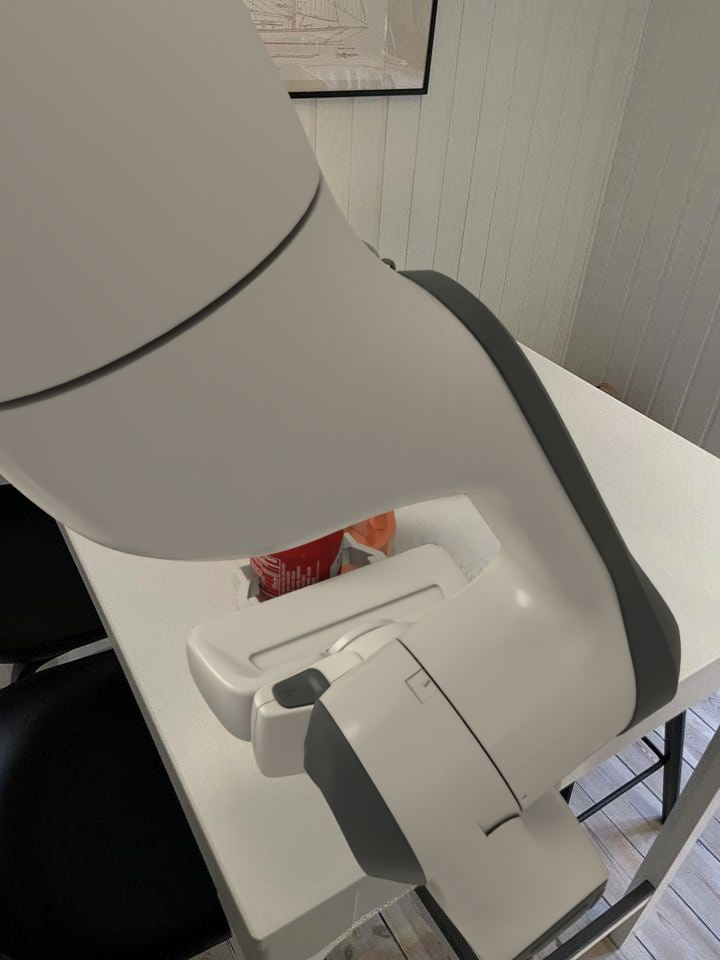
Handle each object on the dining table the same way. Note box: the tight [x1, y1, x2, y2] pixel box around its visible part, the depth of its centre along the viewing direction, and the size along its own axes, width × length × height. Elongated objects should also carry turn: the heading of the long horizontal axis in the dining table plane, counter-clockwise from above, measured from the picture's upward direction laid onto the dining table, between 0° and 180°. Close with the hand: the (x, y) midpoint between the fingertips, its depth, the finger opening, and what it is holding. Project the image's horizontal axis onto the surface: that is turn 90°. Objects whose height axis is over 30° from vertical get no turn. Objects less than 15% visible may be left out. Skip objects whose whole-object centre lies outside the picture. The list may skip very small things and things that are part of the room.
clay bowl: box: [341, 510, 397, 574], centre depth 79 cm, size 14×14×6 cm
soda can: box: [249, 529, 344, 603], centre depth 56 cm, size 7×7×12 cm
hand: (290, 556), depth 56 cm, fingers closed on soda can, 6 cm apart
